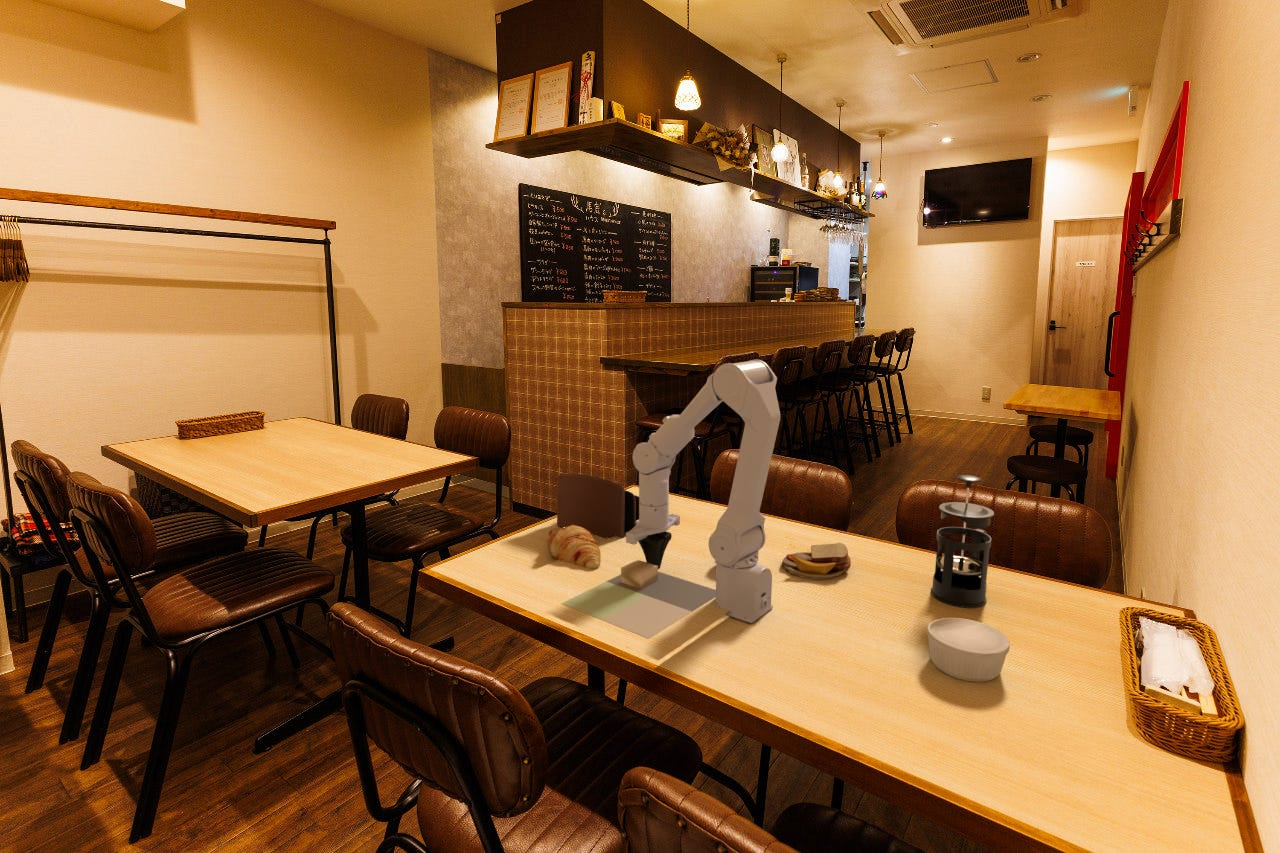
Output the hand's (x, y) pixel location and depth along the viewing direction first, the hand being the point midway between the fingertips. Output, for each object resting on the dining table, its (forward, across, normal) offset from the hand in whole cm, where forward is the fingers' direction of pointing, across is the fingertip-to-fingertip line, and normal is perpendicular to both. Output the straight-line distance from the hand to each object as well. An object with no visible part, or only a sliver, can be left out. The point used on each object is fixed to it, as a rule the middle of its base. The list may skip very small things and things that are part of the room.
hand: (653, 568), depth 132 cm
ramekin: (+2, -5, +56) cm, 56 cm away
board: (+2, +10, +5) cm, 11 cm away
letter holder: (+3, -15, -28) cm, 32 cm away
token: (+1, +4, 0) cm, 5 cm away
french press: (+2, -30, +49) cm, 57 cm away
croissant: (+3, +2, -20) cm, 21 cm away
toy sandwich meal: (+3, -25, +22) cm, 34 cm away
